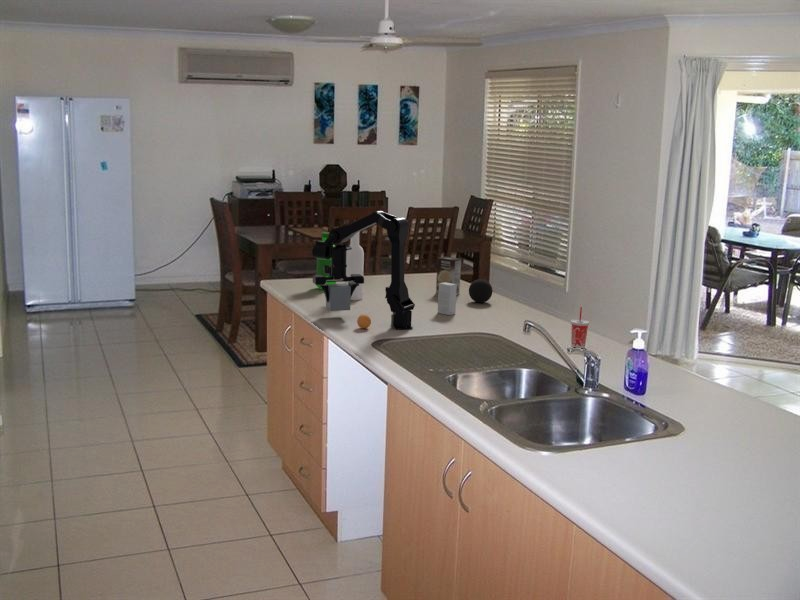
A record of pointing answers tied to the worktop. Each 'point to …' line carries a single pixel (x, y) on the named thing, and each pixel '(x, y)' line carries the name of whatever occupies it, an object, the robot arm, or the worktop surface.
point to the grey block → (339, 297)
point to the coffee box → (448, 272)
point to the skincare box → (447, 298)
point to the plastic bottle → (323, 261)
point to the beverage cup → (579, 332)
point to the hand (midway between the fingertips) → (338, 301)
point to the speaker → (480, 291)
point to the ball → (364, 321)
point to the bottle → (355, 265)
